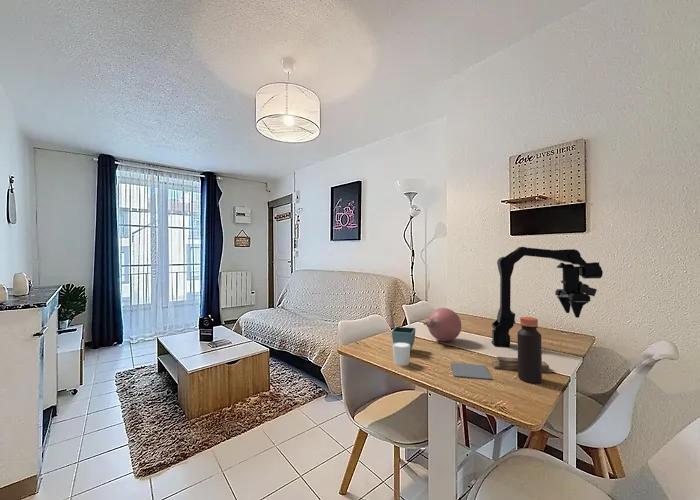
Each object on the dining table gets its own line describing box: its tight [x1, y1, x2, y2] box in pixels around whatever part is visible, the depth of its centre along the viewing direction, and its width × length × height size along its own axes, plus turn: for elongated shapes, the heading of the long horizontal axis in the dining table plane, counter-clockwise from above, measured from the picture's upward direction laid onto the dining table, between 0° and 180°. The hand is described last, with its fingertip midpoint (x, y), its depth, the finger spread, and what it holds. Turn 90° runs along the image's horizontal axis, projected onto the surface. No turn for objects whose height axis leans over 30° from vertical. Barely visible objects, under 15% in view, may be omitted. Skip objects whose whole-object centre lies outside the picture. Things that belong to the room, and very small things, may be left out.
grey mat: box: [450, 362, 493, 381], centre depth 105 cm, size 12×12×1 cm
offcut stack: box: [491, 356, 552, 374], centre depth 108 cm, size 18×5×3 cm, turn 76°
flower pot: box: [391, 326, 416, 351], centre depth 128 cm, size 9×9×9 cm
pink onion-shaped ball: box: [422, 307, 462, 342], centre depth 141 cm, size 15×20×15 cm
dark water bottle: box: [517, 316, 543, 384], centre depth 98 cm, size 7×7×20 cm
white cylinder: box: [391, 342, 411, 367], centre depth 114 cm, size 7×7×7 cm
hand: (572, 315), depth 127 cm, fingers open, 9 cm apart
